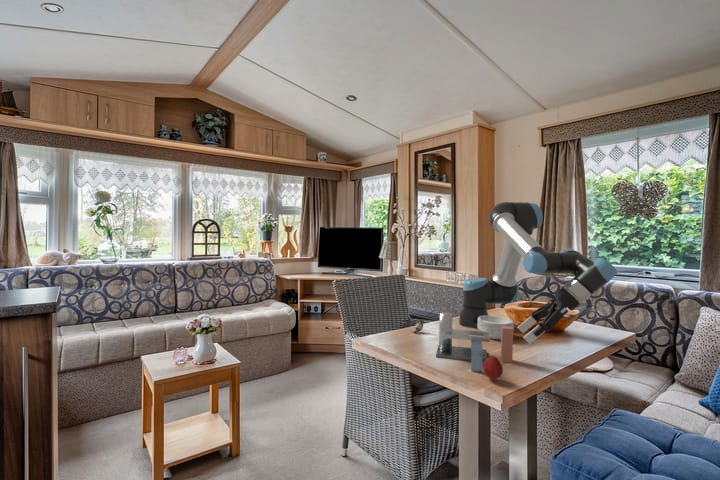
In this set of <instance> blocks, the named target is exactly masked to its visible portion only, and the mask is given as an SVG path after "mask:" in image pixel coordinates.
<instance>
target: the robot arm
mask: <svg viewBox="0 0 720 480" xmlns="http://www.w3.org/2000/svg"><path fill="white" fill-rule="evenodd" d="M543 217H544V216H543V212H542V208H541V207H540V206H539V204H537V203H534V202H529V201H528V202H517V201H516V202H515V201H514V202H509V201H503V202H500V203H498V204H496V205H495V206H494V207H492V208H491V210H490V212H489V216H488V221H489V225H490V226H491V227H492V229H493V230H495V232H496V233H497V232H498V233H500V234H501V235H502V236H503V237H504V238H505V243H504V247H503V249H502V253H501V257H500V261H499V264H498V267H497V271H496V273H494V274H493V275H492V278H491V280H488V278H486V277H471V278H466V279H465V280H464V282H463V286H462V310H461V313H460V315H459V319H458V324H459V325H461V326H462V327H468V328H474V329H478V327H477V326H478V317H480V316H486V315H489V312H488V304H490V305H492V304H493V305H494V304H495V305H496V304H498V305H500V304H502V305H508V304H513V303H515V302H516V301H517V299H518V298H519V297H520V296H519V295H520V291H519V290H520V287H519V283H518V282H517V279H516V276H517V272H518V269H519V266H520V262H521V258H523V259H522V266H524V268H523V269H524V270H525V271H526V272H527V273H529V274H536V275H540V274H548V275H550V274H560V275H561V274H570V275H572V276H574V277H573V278H571V279H570V280H569V281H568V282H566V283H565V284H564V286H563V287H562V288H560V289H558V290H557V291H556V292H555V293H554V296H555V298H556V300H555V299H554V298H552V299H551V300H549V301H548V302H546V303H545V304H543V305H542V306H540V307H539V308H537V309H535V310H533V311H531V314H530V316H529V317H528V318H527V319H526V320H524V321H523V322H522V323H521V324H520V325H518V326H517V328H516V329H518V330H519V331H520V332H521V333H522V334H525V332H526V331H528V330H529V329H530V328H532V327H533V326H534V325H536V324H537V325H536V326H535V327H533V329H532V330H530V331H529V332H528V333H526V334H525V335H524V336H523V337H522V338H523V339H524V340H525V341H526V342H527V343H528V344H529V345H530V344H532V343H533V342H534V341H535V340H537V339H538V338H539V337H541V335H543V334H544V333H545V332H548V333H549V332H551V331H552V330H553V328H554V327H555V326H556V325H557V324H558V323H559V322H560V321H561V319H562V318H563V317H564V316H565V315H566V314H567V313H568V312H569V311H574V310H576V308H578V307H579V306H580V305H581V303H584V302H585V301H586V300H590V297H592V296H593V295H594V294H595V293H596V292H597V291H599V290H600V289H601V288H603V287H604V286H605V285H607V284H608V283H610V281H611V280H612V279H614V277H616V275H617V274H618V271H617V270H618V269H616V267H615V266H614V265H613V264H612V263H611V262H609V261H608V260H606V259H605V258H603V257H597V258H596V259H593V260H592V259H590V258H588V256H585V255H583V254H582V253H581V252H580V251H577V250H575V249H573V248H565V249H563V250H561V251H559V252H549V251H547V250H546V249H545V248H543V246H541V244H539V243H538V242H537V240H535V238H533V237H532V235H533V233H534V230H535V229H539V228H540V227H541V226H542V224H543ZM542 319H543V320H542ZM540 320H542V322H540Z"/></svg>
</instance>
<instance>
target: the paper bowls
mask: <svg viewBox="0 0 720 480" xmlns="http://www.w3.org/2000/svg"><path fill="white" fill-rule="evenodd" d="M502 326H508V327H512V328H513V332H514V330H515V329H514V328H515V321H514V320H513V319H511V318H508V317H505V316H500V315H499V316H498V315H489V314H488V315H486V316H480V317H478V326H477V327H478V328H477V330H478V331H480V332H488V334H489V338H490V340H491V339H493V340H501V327H502Z"/></svg>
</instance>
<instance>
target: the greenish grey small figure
mask: <svg viewBox="0 0 720 480" xmlns="http://www.w3.org/2000/svg"><path fill="white" fill-rule="evenodd" d="M424 322H425V323H426V321H424V320H423V319H418V322H417V323H416V324H415V325H414V327H415V330H411V331H410V333H413V334H418V335H421V332H422V330H423V328H424V324H425V323H424Z"/></svg>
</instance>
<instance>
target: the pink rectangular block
mask: <svg viewBox="0 0 720 480" xmlns="http://www.w3.org/2000/svg"><path fill="white" fill-rule="evenodd" d="M513 344H514V331H513V328H512V327H508V326H502V327H501V339H500V362H503V363H508V364H512V363H513V348H514V347H513V346H514V345H513Z"/></svg>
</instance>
